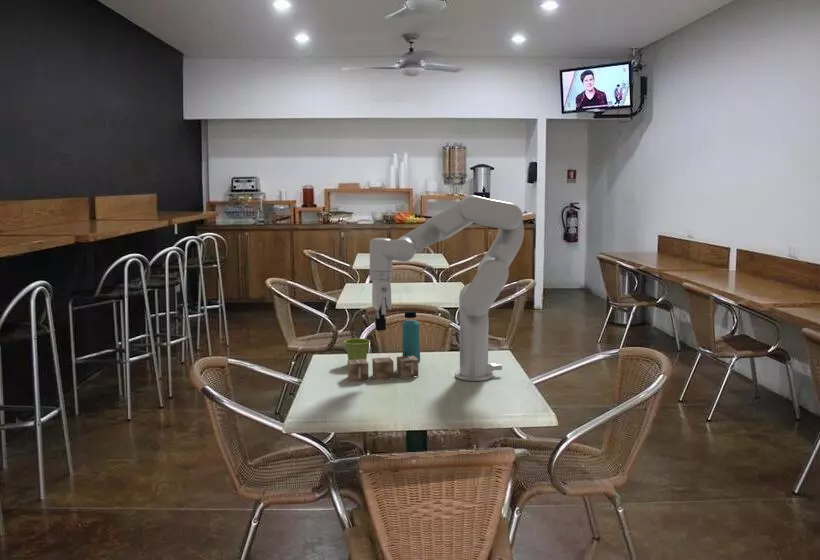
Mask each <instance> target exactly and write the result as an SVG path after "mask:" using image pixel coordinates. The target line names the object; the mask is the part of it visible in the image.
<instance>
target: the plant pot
mask: <svg viewBox="0 0 820 560" xmlns="http://www.w3.org/2000/svg"><path fill="white" fill-rule="evenodd" d="M343 343H344V345H345V348H346V353H347V360H357V359H365V360H366V361H367V357H368V349H369V345H370V343H371V339H367V338H348V339H345V340H344V341H343Z"/></svg>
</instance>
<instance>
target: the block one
mask: <svg viewBox="0 0 820 560" xmlns="http://www.w3.org/2000/svg"><path fill="white" fill-rule="evenodd" d="M369 374H370V373H369V362H368V361H367V359H366V360H365V359H357V360H348V359H347V378H348V380H349V381H350V383H355V382H366V380H369V378H370V377H369ZM369 381H370V380H369Z"/></svg>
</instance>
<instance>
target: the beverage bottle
mask: <svg viewBox="0 0 820 560" xmlns="http://www.w3.org/2000/svg"><path fill="white" fill-rule="evenodd" d="M404 318H406V320H404V321H403V322H402V323H401V328H402V330H401V331H402V332H401V334H402V335H401V341H402V347H401V348H402V349H401V350H402V356H415V357H416V358H417V359H418V364H420V362H421V344H420V343H421V342H420V322H419V321H418V320H416V319H415V318H417V311H415V310H406V311H405V312H404Z"/></svg>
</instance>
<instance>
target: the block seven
mask: <svg viewBox="0 0 820 560" xmlns="http://www.w3.org/2000/svg"><path fill="white" fill-rule="evenodd" d="M396 374H397V375H398V377H401V378H400V379H405V378H404V377H410V378H415V377H414V376H418V377H419V363H418V359H417V358H416V357H415V356H403V355H401V356H397V357H396Z"/></svg>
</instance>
